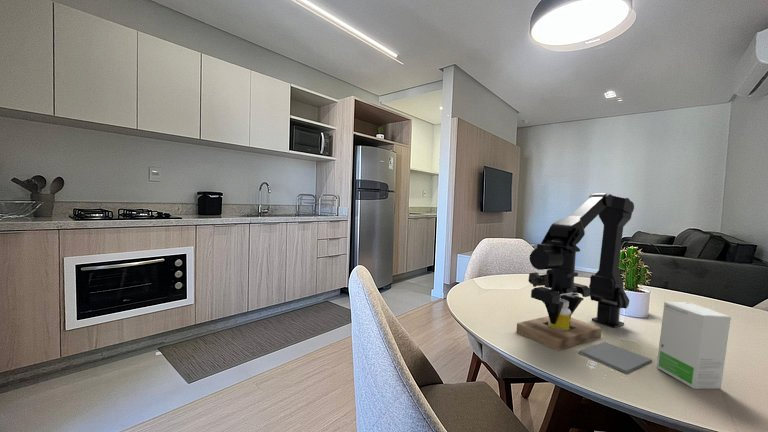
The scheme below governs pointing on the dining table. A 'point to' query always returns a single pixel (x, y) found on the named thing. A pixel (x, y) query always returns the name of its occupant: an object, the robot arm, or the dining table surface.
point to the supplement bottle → (562, 318)
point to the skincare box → (693, 344)
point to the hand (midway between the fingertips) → (559, 322)
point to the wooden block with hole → (558, 332)
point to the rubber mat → (615, 357)
